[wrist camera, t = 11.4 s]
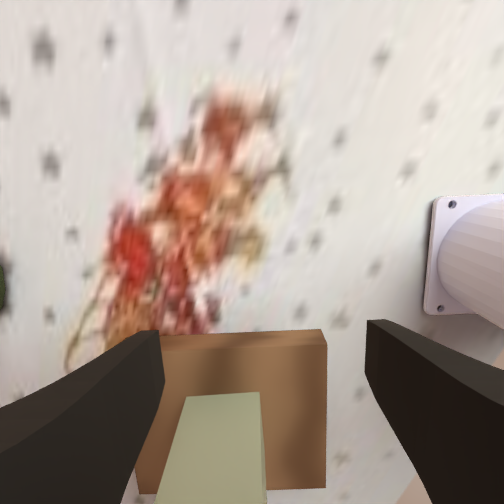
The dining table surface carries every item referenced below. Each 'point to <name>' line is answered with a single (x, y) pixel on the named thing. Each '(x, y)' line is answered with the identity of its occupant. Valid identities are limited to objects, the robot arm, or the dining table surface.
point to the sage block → (216, 453)
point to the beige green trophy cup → (1, 287)
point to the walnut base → (244, 381)
